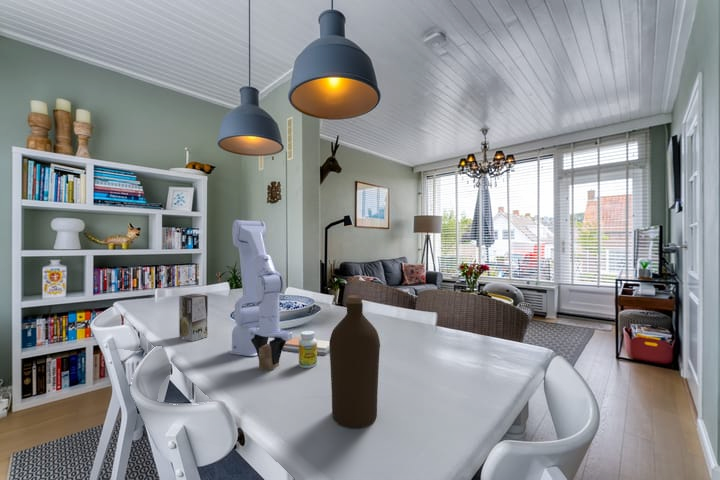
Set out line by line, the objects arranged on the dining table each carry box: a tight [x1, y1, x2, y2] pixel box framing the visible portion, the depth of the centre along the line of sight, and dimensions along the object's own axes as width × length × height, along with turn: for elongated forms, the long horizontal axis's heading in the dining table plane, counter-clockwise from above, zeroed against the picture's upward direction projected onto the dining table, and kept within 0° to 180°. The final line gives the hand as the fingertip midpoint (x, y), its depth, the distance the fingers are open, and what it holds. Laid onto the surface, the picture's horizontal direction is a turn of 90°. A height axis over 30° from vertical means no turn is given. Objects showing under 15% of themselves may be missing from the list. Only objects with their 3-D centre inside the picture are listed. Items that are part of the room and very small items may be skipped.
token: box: [258, 343, 280, 371], centre depth 90 cm, size 4×4×6 cm
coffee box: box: [178, 293, 209, 342], centre depth 117 cm, size 9×6×16 cm
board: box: [282, 336, 330, 356], centre depth 107 cm, size 18×11×2 cm, turn 72°
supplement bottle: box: [298, 330, 318, 369], centre depth 91 cm, size 5×5×10 cm
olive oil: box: [329, 294, 381, 429], centre depth 65 cm, size 11×11×25 cm
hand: (269, 362), depth 90 cm, fingers closed on token, 4 cm apart
